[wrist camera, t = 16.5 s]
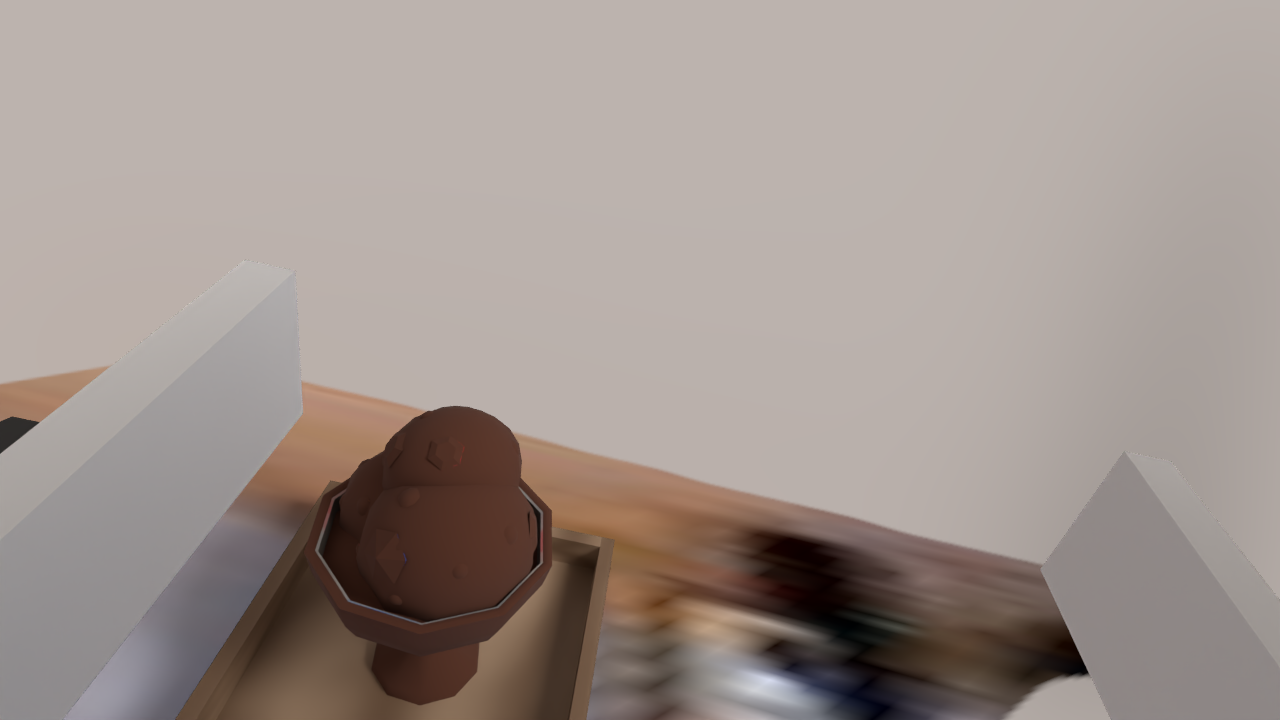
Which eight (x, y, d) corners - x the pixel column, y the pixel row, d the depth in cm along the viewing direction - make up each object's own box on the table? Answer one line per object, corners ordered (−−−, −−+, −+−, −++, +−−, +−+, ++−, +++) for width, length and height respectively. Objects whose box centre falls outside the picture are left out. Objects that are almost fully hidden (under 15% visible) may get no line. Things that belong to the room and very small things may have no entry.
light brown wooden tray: (606, 572, 48) (614, 539, 47) (556, 879, 33) (566, 847, 32) (331, 515, 48) (330, 480, 46) (156, 802, 33) (145, 765, 31)
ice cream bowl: (303, 598, 41) (288, 374, 33) (503, 559, 46) (533, 356, 38) (322, 788, 34) (309, 556, 26) (559, 717, 38) (611, 504, 30)
